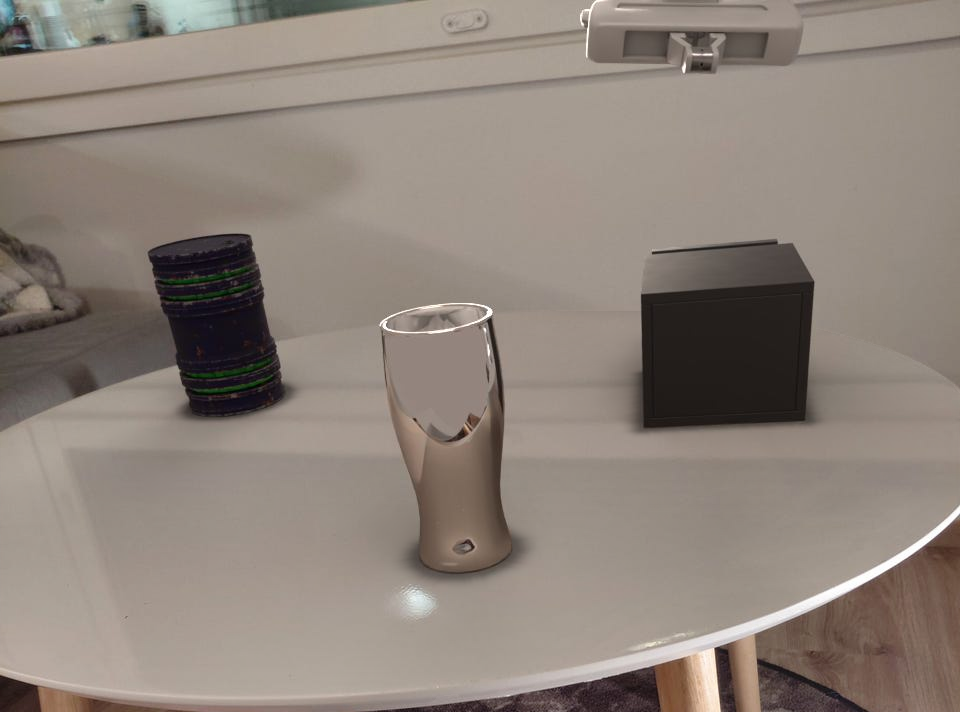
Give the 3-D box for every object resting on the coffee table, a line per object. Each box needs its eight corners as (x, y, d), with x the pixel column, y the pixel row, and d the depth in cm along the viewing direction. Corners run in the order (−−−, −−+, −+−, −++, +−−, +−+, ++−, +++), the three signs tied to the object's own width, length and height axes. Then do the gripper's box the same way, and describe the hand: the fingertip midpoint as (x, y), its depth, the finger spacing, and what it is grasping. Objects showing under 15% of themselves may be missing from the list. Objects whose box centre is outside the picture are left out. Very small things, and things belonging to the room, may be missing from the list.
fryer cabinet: (646, 373, 91) (643, 255, 86) (785, 365, 89) (792, 242, 83) (643, 428, 79) (640, 294, 74) (805, 420, 77) (814, 281, 71)
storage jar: (172, 419, 95) (126, 259, 87) (211, 387, 103) (172, 238, 96) (267, 413, 93) (230, 250, 86) (299, 382, 102) (267, 229, 94)
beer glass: (404, 540, 66) (367, 314, 58) (503, 520, 67) (480, 296, 59) (424, 585, 60) (386, 341, 52) (532, 563, 61) (510, 320, 53)
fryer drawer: (653, 330, 100) (652, 240, 96) (768, 323, 98) (772, 230, 94) (651, 385, 86) (650, 281, 81) (786, 377, 83) (792, 270, 79)
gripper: (582, -28, 95) (590, 23, 86) (792, -25, 95) (822, 27, 86) (576, 44, 100) (584, 100, 91) (776, 47, 100) (803, 103, 91)
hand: (701, 64), depth 88 cm, fingers closed
